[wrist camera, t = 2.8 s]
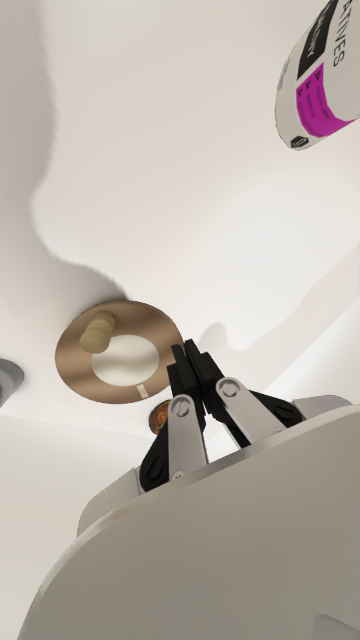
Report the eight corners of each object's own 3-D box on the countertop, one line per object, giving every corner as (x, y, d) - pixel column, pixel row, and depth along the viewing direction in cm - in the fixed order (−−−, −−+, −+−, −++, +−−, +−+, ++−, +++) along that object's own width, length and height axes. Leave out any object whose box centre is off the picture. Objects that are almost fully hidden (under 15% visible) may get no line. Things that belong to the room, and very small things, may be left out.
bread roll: (137, 418, 32) (140, 443, 28) (176, 384, 33) (185, 403, 29) (166, 433, 38) (172, 455, 34) (199, 404, 39) (209, 422, 35)
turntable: (31, 324, 18) (-24, 363, 12) (166, 284, 20) (179, 300, 14) (98, 406, 26) (86, 455, 20) (190, 372, 28) (205, 406, 22)
